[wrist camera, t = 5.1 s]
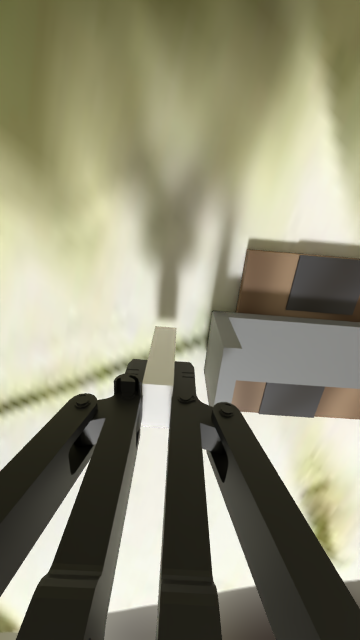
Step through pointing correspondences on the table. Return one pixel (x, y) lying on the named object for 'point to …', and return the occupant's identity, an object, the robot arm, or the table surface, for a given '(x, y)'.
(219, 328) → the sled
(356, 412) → the tunnel board
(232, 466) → the robot arm
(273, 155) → the table surface
